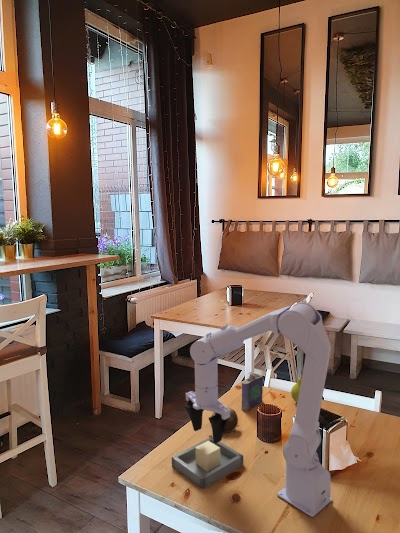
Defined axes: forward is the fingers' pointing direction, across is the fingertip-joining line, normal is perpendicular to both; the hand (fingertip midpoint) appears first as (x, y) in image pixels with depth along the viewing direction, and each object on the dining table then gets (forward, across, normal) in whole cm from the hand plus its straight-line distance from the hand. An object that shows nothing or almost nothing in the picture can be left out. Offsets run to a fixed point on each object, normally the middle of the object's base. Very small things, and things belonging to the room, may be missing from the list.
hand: (207, 435), depth 102 cm
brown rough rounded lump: (+8, -10, +16) cm, 21 cm away
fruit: (+8, -4, +47) cm, 48 cm away
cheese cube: (+8, 0, 0) cm, 8 cm away
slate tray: (+8, 0, 0) cm, 8 cm away
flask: (+8, -14, +33) cm, 37 cm away
